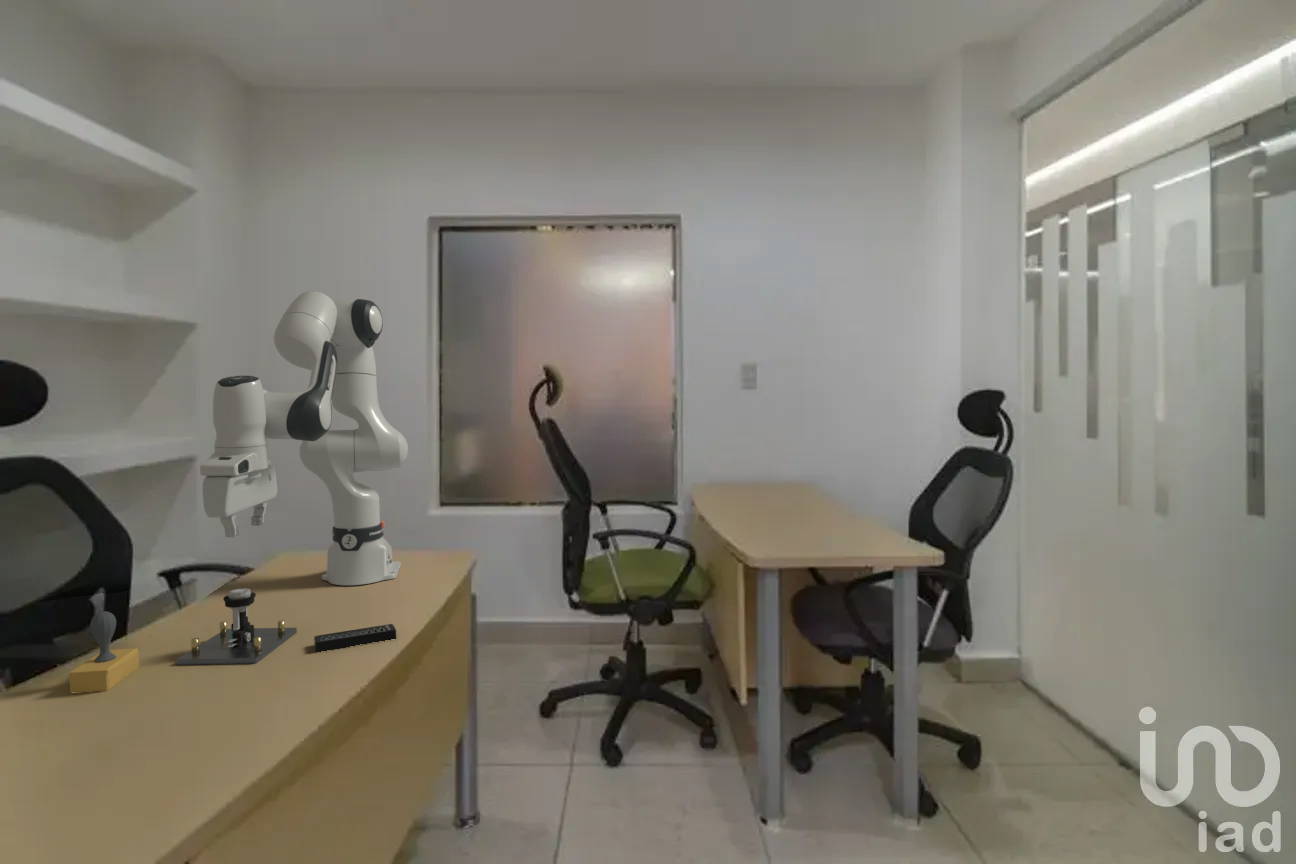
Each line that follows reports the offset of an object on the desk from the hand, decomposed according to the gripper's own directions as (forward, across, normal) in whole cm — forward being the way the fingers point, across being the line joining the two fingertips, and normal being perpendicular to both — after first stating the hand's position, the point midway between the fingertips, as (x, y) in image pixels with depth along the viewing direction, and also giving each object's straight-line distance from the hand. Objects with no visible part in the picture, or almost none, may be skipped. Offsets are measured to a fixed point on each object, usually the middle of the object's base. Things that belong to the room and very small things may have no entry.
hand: (245, 530), depth 136 cm
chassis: (+22, +4, 0) cm, 22 cm away
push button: (+21, +5, 0) cm, 22 cm away
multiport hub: (+22, +3, +21) cm, 31 cm away
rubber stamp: (+22, +18, -15) cm, 32 cm away
